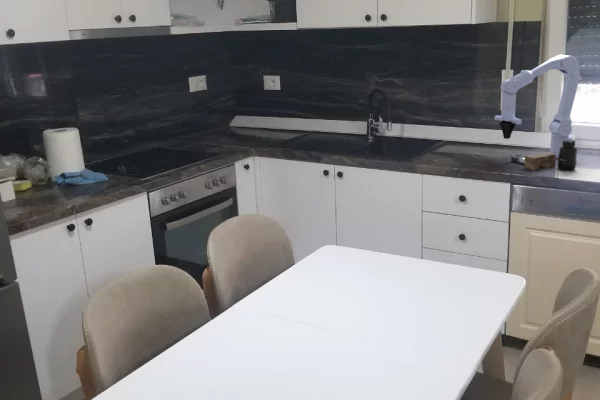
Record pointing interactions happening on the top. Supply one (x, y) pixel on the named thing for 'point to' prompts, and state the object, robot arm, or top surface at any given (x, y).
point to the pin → (516, 158)
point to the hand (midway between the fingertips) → (506, 138)
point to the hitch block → (540, 160)
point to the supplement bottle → (567, 156)
